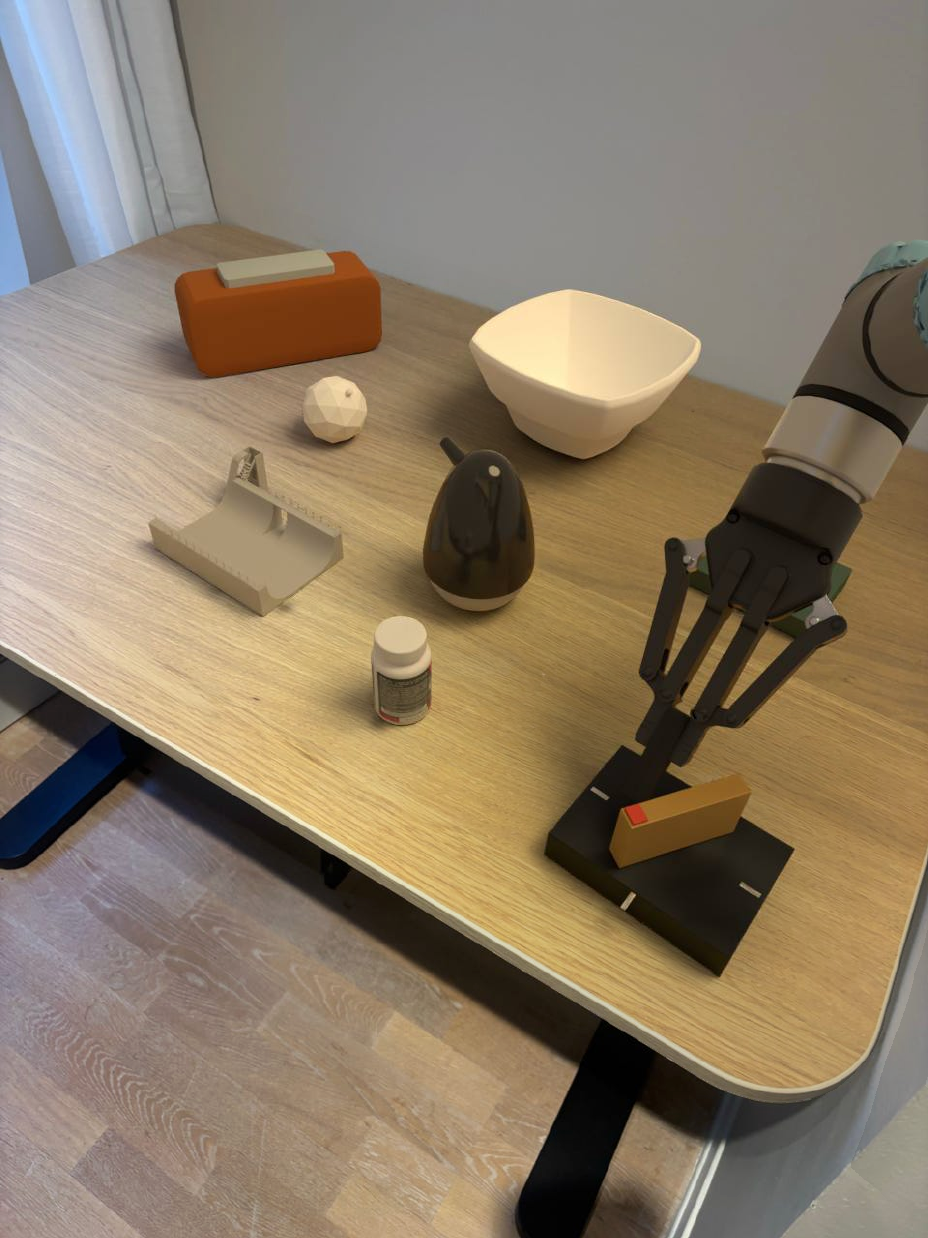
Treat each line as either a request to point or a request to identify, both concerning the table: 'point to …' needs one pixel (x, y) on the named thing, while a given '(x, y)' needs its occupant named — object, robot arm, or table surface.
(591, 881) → the knob panel
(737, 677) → the robot arm
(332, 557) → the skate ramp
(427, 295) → the table surface
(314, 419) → the ornament
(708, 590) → the button block
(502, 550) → the pump dispenser
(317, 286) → the alarm clock
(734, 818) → the rectangular block
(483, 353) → the bowl
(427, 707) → the pill bottle
